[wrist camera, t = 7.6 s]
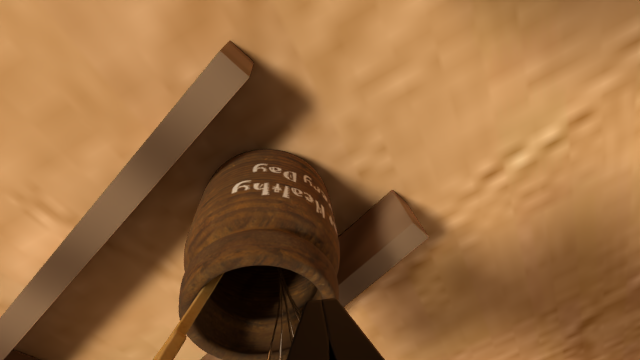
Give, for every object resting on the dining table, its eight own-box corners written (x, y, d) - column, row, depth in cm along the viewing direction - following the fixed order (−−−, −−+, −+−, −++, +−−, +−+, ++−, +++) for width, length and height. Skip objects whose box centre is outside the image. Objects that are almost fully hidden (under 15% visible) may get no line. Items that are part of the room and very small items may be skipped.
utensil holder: (285, 264, 19) (288, 592, 9) (177, 211, 17) (12, 566, 7) (353, 185, 17) (460, 489, 7) (240, 114, 15) (147, 403, 5)
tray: (229, 40, 14) (220, 50, 11) (406, 203, 18) (429, 237, 16) (-26, 351, 20) (-73, 406, 17) (157, 417, 24) (143, 469, 21)
